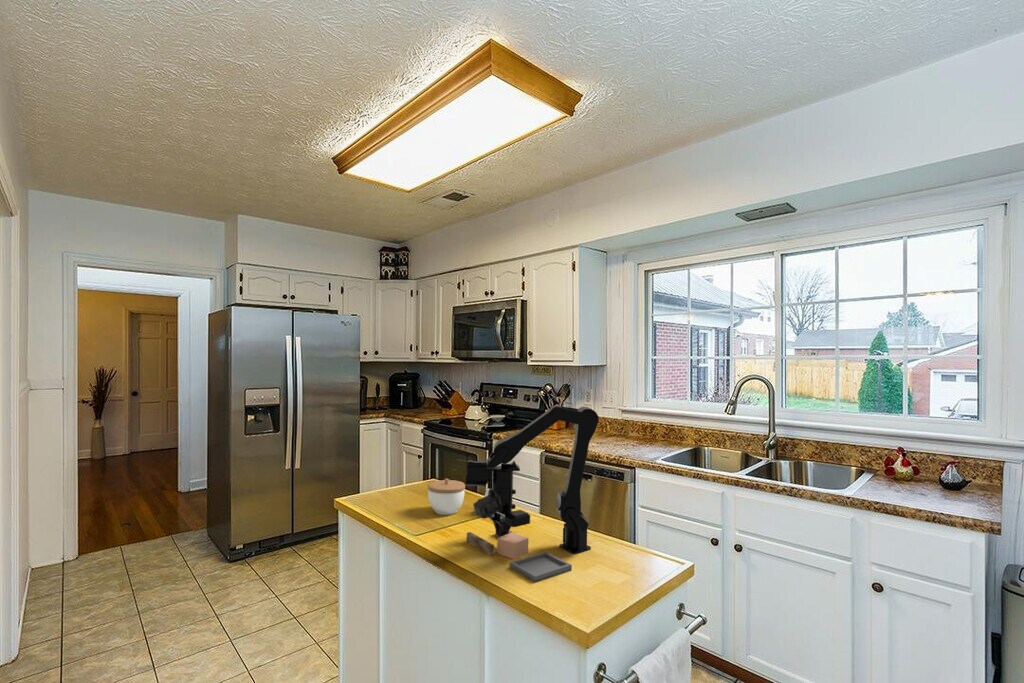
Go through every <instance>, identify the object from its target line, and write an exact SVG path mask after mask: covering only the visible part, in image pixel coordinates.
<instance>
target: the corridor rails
mask: <svg viewBox="0 0 1024 683" xmlns="http://www.w3.org/2000/svg"><path fill="white" fill-rule="evenodd" d="M512 532H513V533H515V532H514V531H511V530H509V532H508V534H509V533H512ZM495 535H496V536H497V533H496V532H495ZM466 543H468V544H470V545H471V546H473V547H475V548H477V549H478V550H480V551H482V552H483V553H486V554H487V555H489V556H493V555H495V544H493V543H492V542H489V541H487V540H486V539H484V538H482V537H480V536H478V535H477V534H474V533H473V532H471V531H468V532H466Z"/></svg>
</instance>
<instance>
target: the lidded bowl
mask: <svg viewBox="0 0 1024 683" xmlns="http://www.w3.org/2000/svg"><path fill="white" fill-rule="evenodd" d="M465 489H466V483H464V482H462V481H459V480H453V479H452V480H451V479H449V478H444V479H441V480H435V481H432V482H429V483H428V484H427V497H428V498H427V499H428V502H429V505H430V507H431V508H432V509H433V510H434V512H435V513H436V514H437V515H440V516H442V515H444V516H450V515H454V514H456V513H457V511H458V510H459V509H460V508H461V506H462V505H463V502H464V499H465V494H466V492H465Z"/></svg>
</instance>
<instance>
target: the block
mask: <svg viewBox="0 0 1024 683" xmlns="http://www.w3.org/2000/svg"><path fill="white" fill-rule="evenodd" d="M513 532H514V531H512V533H509V534H507V535H504V536H501V537H497V538H496V539H497V542H496V544H497V545H496V548H497V549H496V553H497V554H499V555H502V556H504V557H507V558H510V559H512V560H514V559H517V558H519V557H522V556H524V555H527V554H529V537H526V536H523V535H521V534H518V533H516V532H514V533H513Z"/></svg>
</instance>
